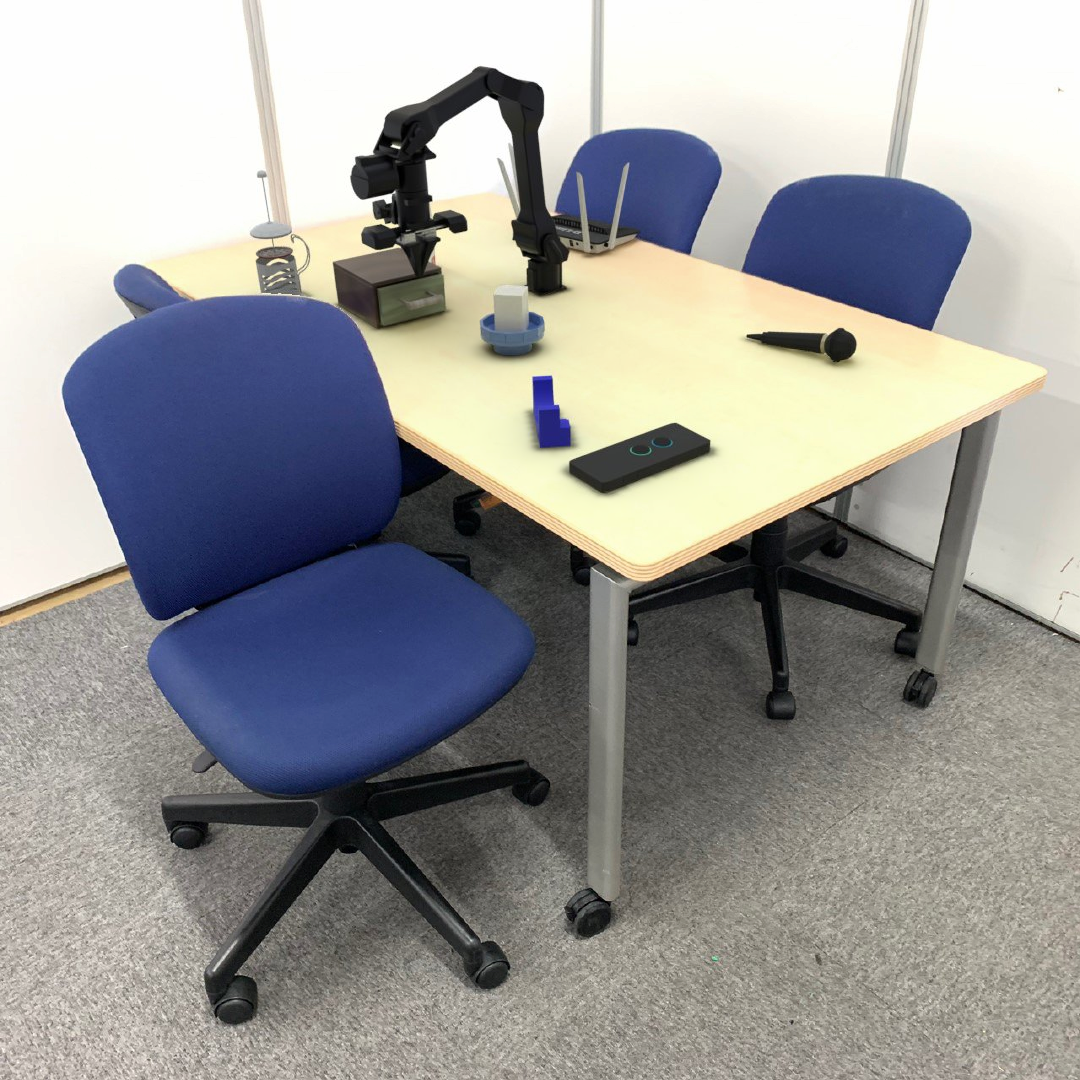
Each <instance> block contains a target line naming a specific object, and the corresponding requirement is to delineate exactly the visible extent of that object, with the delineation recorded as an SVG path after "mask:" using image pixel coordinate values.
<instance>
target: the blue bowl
mask: <svg viewBox="0 0 1080 1080" xmlns="http://www.w3.org/2000/svg"><path fill="white" fill-rule="evenodd" d="M545 324H546V322H545V318H544V316H542V315H540V314H537V313H536V312H534V311H529V327H528V328H527V330H526V331H523V332H508V333H506V332H499V331H495V317H494V312H493V313H489V314H486V315H485V316H484V317H482V318H480V320H479V331H480V338H481V340H482V341H484V342H485V343H487V344H490V345H493V351H494V352H495V353H497V354H500V355H504V356H520V355H524V354H527V353H529V352H530V351H532V349H533V344H534V343H537V342H539V341H540V340H542V339H543V338H544V337H545V331H546V325H545Z"/></svg>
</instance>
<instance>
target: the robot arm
mask: <svg viewBox="0 0 1080 1080" xmlns="http://www.w3.org/2000/svg"><path fill="white" fill-rule="evenodd" d="M486 97H488V98H489V99H492V100H494V101H496V102H497V103H498V107H499V112H500V116H501V118H502V120H503V122H504V124H505V125H506V126H507V128H508V130H509V132H510V135H511V140H512V146H513V150H514V159H515V167H516V175H517V184H518V192H519V200H520V209H519V210H520V212H519V215H518V217H517V219H516V218H515V219H511V221H510V225H511V228H512V238H511V239H512V241H515V245H516V247H517V248H519V249H520V252H521V255H522V257H523V258H528V259H527V267H526V271H525V272H526V284H524V285H523V286H528V291H530V292H532V293H534V294H537V295H539V296H546V295H551V294H555V293H558V292H562V291H566V290H568V287H567V285H565V284H563V263H564V262H567V261H568V260H569V255H570V249H569V247H566V246H565V245H564V244H563V243H562V242H561V241H560V240H559V239H558V233H557V229H556V225H555V222H554V220H553V218H552V217H551V216H552V215H551V213H550V211H549V210H548V208H547V204H546V194H545V185H544V175H543V166H542V156H541V146H540V137H539V129H540V127H541V124H542V122H543V119H544V117H545V91H544V89H543V87H542V86H541V85H539V83H537V82H535V81H531V80H526V79H519V78H515V77H513V76H510V75H508V74H506V73H503V72H502V71H500V70H499V69H497V68H495V67H490V66H482V65H479V66H476V67H475V68H473V70H471V72H469V73H467V74H466V75H464V76H463V77H461V78H459V79H458V80H456V81H455V82H454V83H452V84H450V85H448V86H447V87H445V88H443V89H442V90H440V91H439V92H438V93H436V94H434V95H432V96H431V97H429V98H427V99H426V100H424V101H420V102H417V103H412V104H407V105H404V106H401V107H397V108H395V109H392V110H391V111H389V112H388V113H387V114H386V116H385V117H384V122H383V127H382V130H381V132H380V134H379V137H378V138H377V141H376V143H375V145H374V148H373V150H372V154H369V155H368V154H367V155H357V156H355V157H354V162H355V163H354V164H353V166H352V168H351V173H350V176H349V179H350V185H351V187H352V190H353V192H354V194H355V195H356V197H357V198H358V199H360V200H362V201H365V200H370V199H373V198H378V197H383V196H388V195H391V202H389V203H387V201H386V200H385V199H379V200H374V201H372V203H371V204H372V214H373V217H374V218H373V219H375V220H376V221H378V220H383V222H384V224H382V223H379V224H374V225H370V226H364V227H363V229H362V231H361V233H360V238H361V244H363V245H365V246H367V247H368V248H370V249H373V250H374V251H384V250H388V249H393V248H395V247H394V246H395V245H396V246H398V247H400V248H402V249H403V251H404V252H405V254H406V256H407V258H408V260H409V262H410V264H411V266H412V269H413V271H414V273H415V275H416V277H418V278H420V277H423V274H424V272H425V269H426V266H427V264H428V261H429V258H430V256H431V254H432V252H433V250H434V248H435V249H436V245H437V244H438V243H440V242H441V240H442V238H441V237H439V236H438V235H437V234H438V233H437V231H440V230H444V229H445V230H446V229H448V230H449V231H450V232H451V233H452V234H453V235H456V234H460V233H465V232H468V230H469V229H468V228H469V227H468V220H467V218H466V216H465V215H464V214H462V213H460V212H458V211H455V210H452V209H447V210H443V211H437V212H434V213H433V214H432V219H431V218H430V208H429V202H430V203H432V202H433V195H432V194H429V185H428V184H429V183H428V173H427V161H429V160H434V159H436V158H437V154H436V153H435V152H434V151H432V150H431V149H430V148H429V147H428V143H429V142H431V141H432V140H433V139H434V138H435V137H436V136H437V133H438V132H439V130H440V128H441V127H443V125H444V124H446V123H447V122H448V121H450V120H453V118H454V117H456V116H458V115H459V114H461V113H463V112H464V111H466V110H468V109H469V108H471V107H472V106H474V105H475V104H477V103H478V102H480V101H482V100H483V99H485V98H486ZM394 146H396V147H394ZM397 147H399V148H397ZM389 224H392V225H394V227H389V226H386V225H389ZM396 225H397V226H396ZM395 226H396V227H395ZM398 226H399V227H398ZM406 230H410V231H406Z"/></svg>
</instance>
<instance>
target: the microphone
mask: <svg viewBox="0 0 1080 1080" xmlns="http://www.w3.org/2000/svg"><path fill="white" fill-rule="evenodd" d="M745 337H746V339H751V340H754V341H759V342H760V343H762V344H764V345H768V346H772V347H777V348H778V347H779V348H784V349H788V350H789V349H790V350H795V351H801V352H807V353H813V354H814V353H815V354H819V355H824V354H826V356H827V357H829V359H830V361H831V362H833V363H836V364H838V363H840V362H842V361H847V360H849V359H850V358H852V356H853V355H854V354H855V353H856V351H857V345H858V342H857V339H856V337H855V335H854V334H853V333H852V332H850V331H848V330H846V329H845V328H844V327H837V328H836V329H835V330H833V331H832V332H831V333H829V334H827V333H826V332H824V333H823V332H801V331H799V332H797V331H762V333H747V334H746V336H745Z"/></svg>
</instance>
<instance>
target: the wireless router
mask: <svg viewBox="0 0 1080 1080" xmlns="http://www.w3.org/2000/svg"><path fill="white" fill-rule="evenodd" d="M507 145H508V151H509V157H510V162H511V169H512V175H513V180H514V185H515V186H514V187H515V191H514V190H513V187H512V184H511V181H510V177H509V174H508V171H507V169H506V166H505V162H504V161H503V160H502V159H501V158H500V157H496V160H497V163H498V165H499V170H500V173H501V176H502V179H503V182H504V185H505V188H506V191H507V194H508V198H509V201H510V204H511V207H512V209H513V213H514V216H515V219H517V217H518V215H519V212H520V200H519V192H518V184H517V175H516V167H515V159H514V150H513V144H512V143H511V142H508V143H507ZM629 168H630V162H627V163H625V165H624V166H623V169H622V173H621V179H620V184H619V189H618V194H617V198H616V199H617V200H616V203H615V204H616V205H615V209H614V214H613V219H612V223H611V222H610V223H609V222H605V221H600V220H595V219H591V218H588V213H587V206H586V197H585V196H586V195H585V189H584V188H585V187H584V180H583V179H584V178H583V176H582V174H581V173H580V172H579V171H576V180H577V181H576V182H577V192H578V201H579V212H580V216H576V215H571V214H566V213H565V214H563V213H561V214H556V215H551V217H552V218H553V220H554V222H555V225H556V229H557V233H558V239H559V240H560V241H561V242H562V243H563V244H564V245H565V246H566V247H567V248H570V249H575V250H578V251H579V250H580V251H583V252H585V253H586V254H589V253H592V254H599V253H602V252H604V251H607V250H613V249H614V248H615V247H617V246H619V245H621V244H625V243H627V242H630V241H632V240H634V239H635V238H636V236H637V235H638V234H641V232H642V231H641V229H638V228H634V227H629V226H624V225H621V224H620V225H619V221H620V215H621V210H622V205H623V199H624V195H625V188H626V183H627V178H628V173H629ZM515 192H516V195H515ZM516 197H517V198H516Z"/></svg>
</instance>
